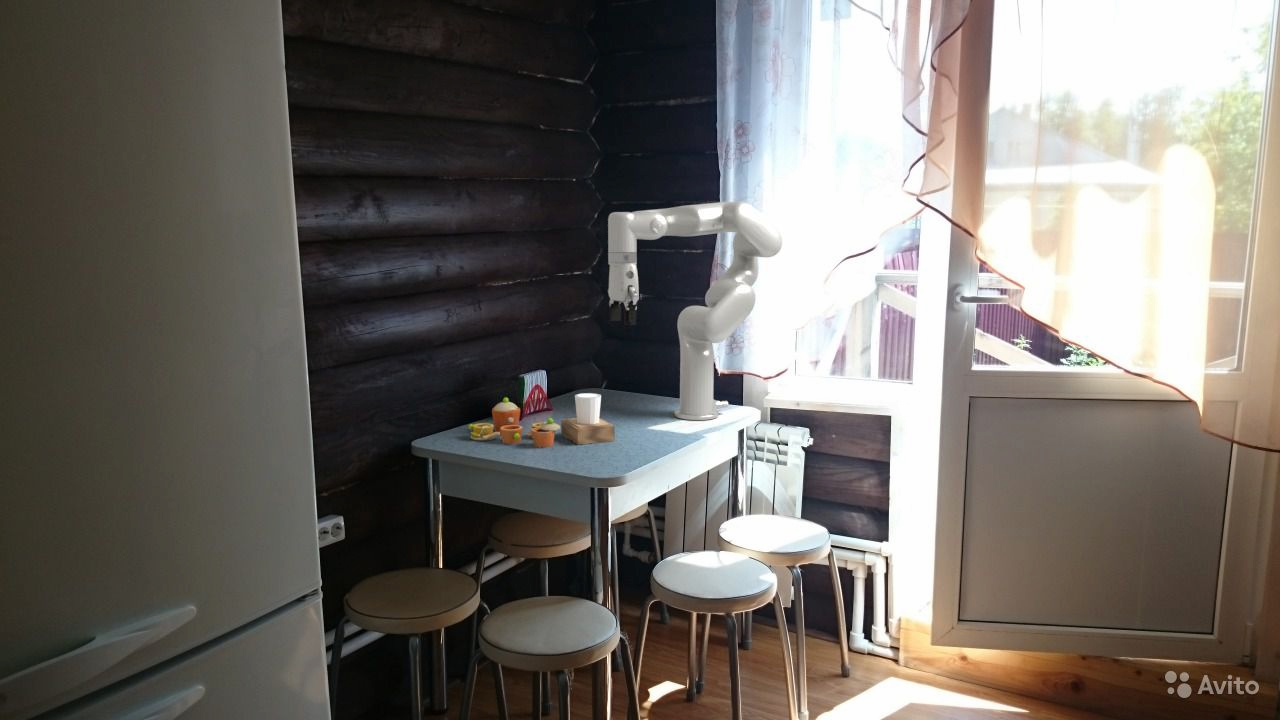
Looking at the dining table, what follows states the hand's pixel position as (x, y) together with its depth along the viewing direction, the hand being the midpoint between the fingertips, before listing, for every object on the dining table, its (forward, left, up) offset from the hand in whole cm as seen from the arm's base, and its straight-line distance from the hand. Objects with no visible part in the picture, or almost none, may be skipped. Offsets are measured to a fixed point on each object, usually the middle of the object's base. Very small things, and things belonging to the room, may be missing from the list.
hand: (622, 322), depth 247 cm
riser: (+14, +9, -28) cm, 33 cm away
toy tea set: (+30, +2, -29) cm, 42 cm away
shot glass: (+14, +9, -24) cm, 29 cm away
